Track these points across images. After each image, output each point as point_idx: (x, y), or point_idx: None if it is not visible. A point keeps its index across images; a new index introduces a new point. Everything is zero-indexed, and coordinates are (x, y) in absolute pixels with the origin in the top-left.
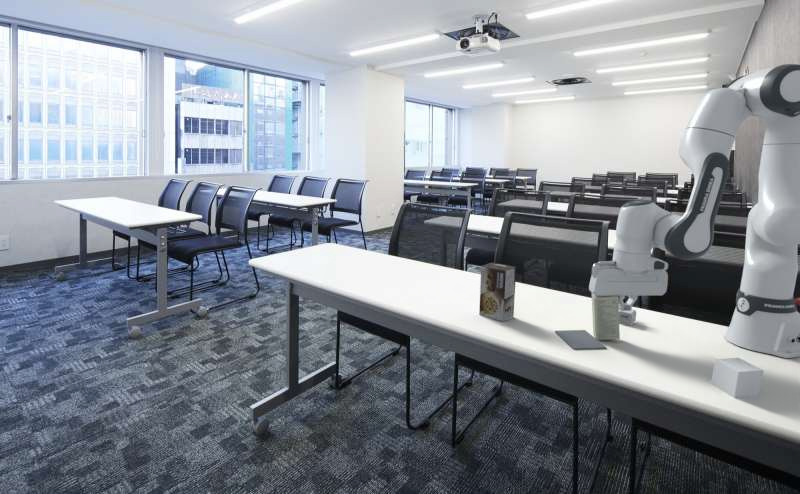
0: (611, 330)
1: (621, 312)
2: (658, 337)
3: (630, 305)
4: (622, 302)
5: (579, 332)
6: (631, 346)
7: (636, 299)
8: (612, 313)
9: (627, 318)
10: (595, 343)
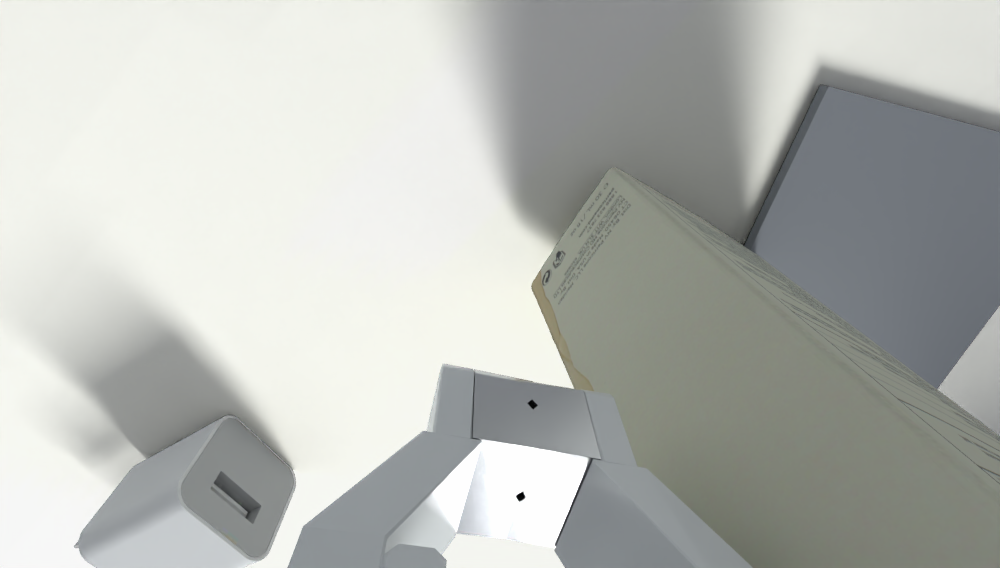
0: (712, 233)
1: (244, 545)
2: (120, 165)
3: (469, 430)
4: (665, 514)
5: None
6: (545, 62)
7: (323, 522)
8: (851, 344)
9: (221, 477)
10: (837, 191)
